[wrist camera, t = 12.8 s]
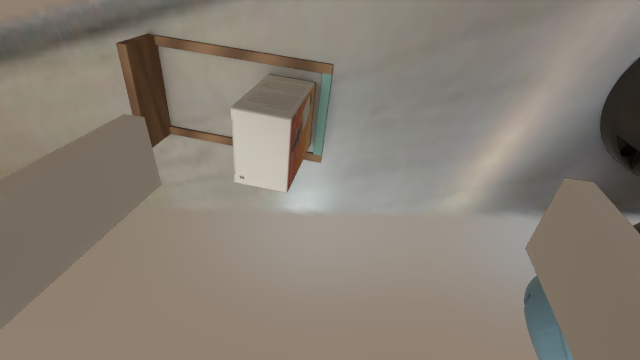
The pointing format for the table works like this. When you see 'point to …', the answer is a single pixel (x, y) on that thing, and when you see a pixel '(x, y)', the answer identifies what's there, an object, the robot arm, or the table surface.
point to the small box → (272, 132)
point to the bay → (145, 63)
